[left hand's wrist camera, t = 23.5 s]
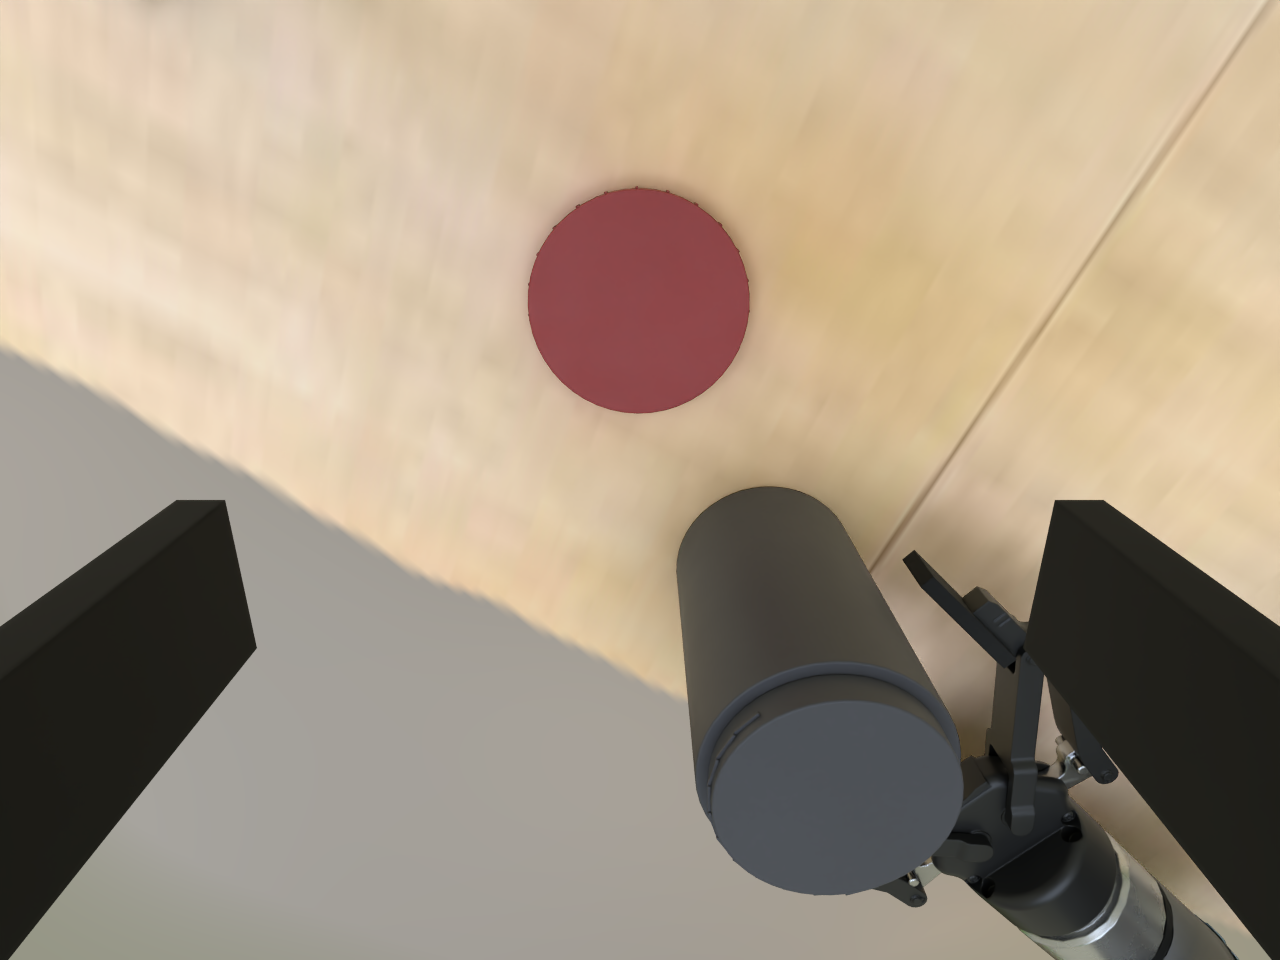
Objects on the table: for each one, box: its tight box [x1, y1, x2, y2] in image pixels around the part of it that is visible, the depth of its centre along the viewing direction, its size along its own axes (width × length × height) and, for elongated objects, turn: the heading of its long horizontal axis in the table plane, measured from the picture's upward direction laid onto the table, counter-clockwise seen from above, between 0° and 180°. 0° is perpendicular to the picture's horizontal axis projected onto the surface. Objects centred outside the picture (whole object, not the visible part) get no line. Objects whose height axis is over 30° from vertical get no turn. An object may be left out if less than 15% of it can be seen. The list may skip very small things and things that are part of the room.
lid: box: [528, 186, 750, 413], centre depth 38 cm, size 11×11×2 cm
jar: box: [676, 487, 964, 895], centre depth 36 cm, size 10×10×18 cm
